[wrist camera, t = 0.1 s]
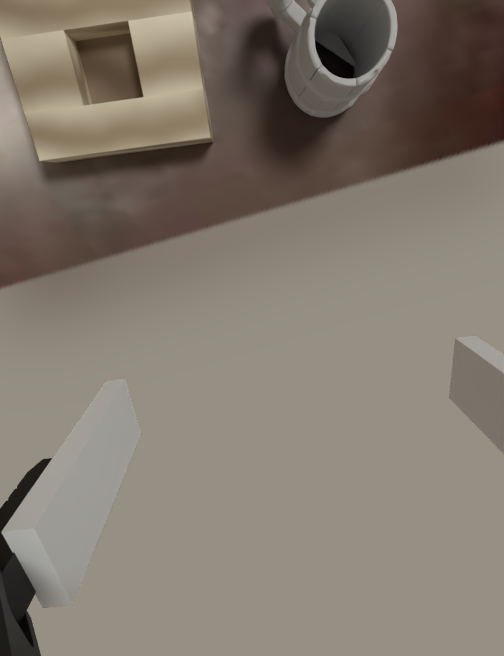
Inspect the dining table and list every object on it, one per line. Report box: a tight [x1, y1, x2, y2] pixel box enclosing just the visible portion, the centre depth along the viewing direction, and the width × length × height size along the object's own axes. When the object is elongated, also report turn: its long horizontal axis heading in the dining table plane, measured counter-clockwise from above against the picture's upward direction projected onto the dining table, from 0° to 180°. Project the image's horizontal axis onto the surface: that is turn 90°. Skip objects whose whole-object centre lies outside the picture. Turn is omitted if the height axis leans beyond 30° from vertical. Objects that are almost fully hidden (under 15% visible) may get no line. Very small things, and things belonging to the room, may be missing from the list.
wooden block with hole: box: [0, 0, 213, 163], centre depth 32 cm, size 13×16×4 cm
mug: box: [266, 0, 397, 117], centre depth 28 cm, size 8×12×12 cm, turn 46°
